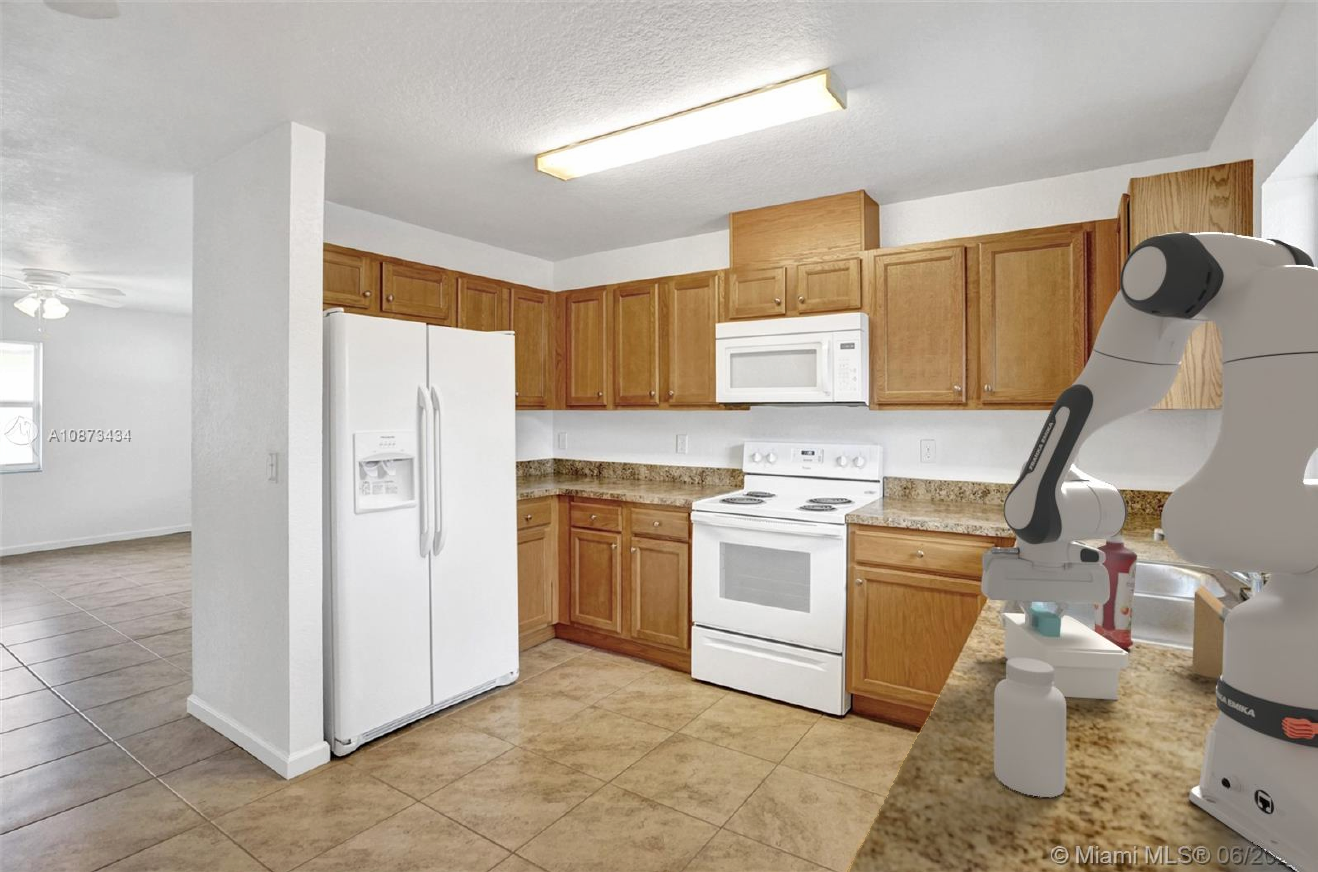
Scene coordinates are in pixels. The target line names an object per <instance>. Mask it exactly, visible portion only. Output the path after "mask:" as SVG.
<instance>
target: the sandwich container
mask: <svg viewBox="0 0 1318 872" xmlns="http://www.w3.org/2000/svg"><path fill="white" fill-rule="evenodd" d="M1193 601H1194V605H1193V606H1194V607H1193V641H1192V674H1194V675H1199V676H1203V677H1207V678H1211V679H1216V680H1218V677H1219V676H1220V675H1222V671H1223V639H1224V622H1225V619H1226V617H1227V615H1228V613H1229V612H1230V611H1231V609H1229V608H1228V607H1226V605H1225V604H1223V603H1222V601H1220V600H1219V599H1218V597H1216V595H1214V594H1213V593H1212V592H1211V591H1210V590H1209V589H1208V588H1207V587H1206V586H1205V585H1204V584H1200V585H1199V587H1198V588H1197V589H1196V590H1195V591H1194V600H1193Z"/></svg>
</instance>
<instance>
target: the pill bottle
mask: <svg viewBox="0 0 1318 872" xmlns="http://www.w3.org/2000/svg"><path fill="white" fill-rule="evenodd" d="M1005 673H1006V674H1005V677H1006V678H1005V679H1002V680H1000V681H999V682H997V684H996V686H995V688H994V692H993V693H994V694H993V696H994V698H993V705H994V706H993V709H994V710H993V771H994V775H995V777H996V779H997V778H998V779H997V780H998V781H999V782H1000V781H1001V782H1002V783H1003V784H1004V786H1005V785H1006V786H1008V787H1009V788H1008V787H1007V788H1008V789H1010V788H1011V789H1010V790H1012V789H1013V790H1012V791H1014V790H1017V791H1019V792H1022V793H1024V794H1023V795H1025V794H1027V795H1026V796H1029V795H1033V796H1032V797H1034V796H1038V797H1037V798H1042V797H1049V798H1055V796H1056V797H1057V796H1058V795H1059V796H1060V795H1062V794H1063V793H1064V792H1065V789H1066V780H1067V779H1066V776H1067V775H1066V774H1067V773H1066V772H1067V765H1066V763H1067V758H1066V757H1067V701H1066V698H1065V697H1064V696H1063V694H1062V693H1061V692H1060V691H1059V690H1058V689H1057V688H1055V687H1054V668H1053V667H1052V666H1051V665H1049V664H1047V663H1045V662H1042V661H1039V660H1035V659H1029V658H1012V659H1009V660H1008V659H1007V660H1006V663H1005ZM1001 782H1000V783H1001ZM1002 783H1001V784H1002ZM1003 784H1002V785H1003ZM1006 786H1005V787H1006ZM1019 792H1018V793H1019ZM1022 793H1021V794H1022ZM1039 796H1040V797H1039Z"/></svg>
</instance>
